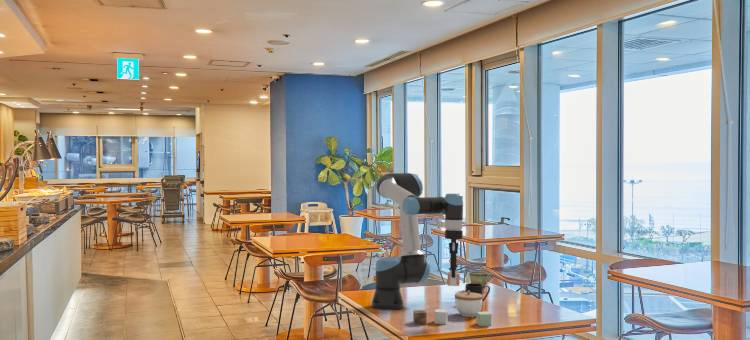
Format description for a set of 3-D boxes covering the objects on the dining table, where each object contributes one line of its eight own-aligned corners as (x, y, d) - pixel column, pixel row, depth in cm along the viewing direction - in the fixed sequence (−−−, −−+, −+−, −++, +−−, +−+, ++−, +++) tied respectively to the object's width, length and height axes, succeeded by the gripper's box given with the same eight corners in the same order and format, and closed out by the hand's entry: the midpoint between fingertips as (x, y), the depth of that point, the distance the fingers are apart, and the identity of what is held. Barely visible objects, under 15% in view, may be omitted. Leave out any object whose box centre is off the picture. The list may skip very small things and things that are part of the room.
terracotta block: (447, 285, 271) (447, 273, 271) (447, 283, 276) (447, 272, 276) (459, 285, 271) (459, 274, 271) (459, 283, 276) (459, 272, 276)
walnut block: (414, 324, 269) (414, 312, 269) (413, 321, 274) (413, 310, 274) (426, 324, 270) (426, 312, 270) (424, 321, 275) (425, 310, 275)
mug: (491, 306, 308) (492, 286, 308) (467, 306, 307) (467, 286, 307) (487, 302, 316) (487, 283, 316) (463, 302, 315) (464, 283, 315)
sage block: (479, 326, 268) (479, 314, 268) (476, 323, 273) (476, 311, 273) (491, 326, 269) (491, 314, 269) (487, 323, 274) (487, 311, 274)
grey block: (434, 323, 272) (434, 311, 272) (436, 320, 277) (436, 309, 277) (446, 324, 271) (446, 312, 271) (447, 321, 276) (447, 309, 276)
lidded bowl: (460, 310, 297) (461, 287, 297) (486, 314, 291) (486, 289, 291) (450, 315, 286) (450, 291, 286) (476, 319, 280) (476, 294, 280)
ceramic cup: (468, 291, 343) (468, 273, 343) (469, 288, 353) (469, 270, 353) (492, 293, 341) (492, 274, 341) (493, 289, 350) (493, 271, 350)
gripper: (462, 231, 264) (462, 287, 264) (462, 227, 282) (461, 280, 282) (444, 231, 265) (444, 287, 265) (445, 227, 283) (444, 279, 283)
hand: (453, 283), depth 273 cm, fingers closed on terracotta block, 5 cm apart
